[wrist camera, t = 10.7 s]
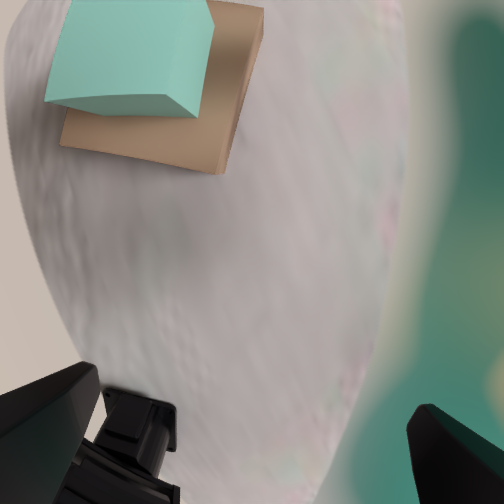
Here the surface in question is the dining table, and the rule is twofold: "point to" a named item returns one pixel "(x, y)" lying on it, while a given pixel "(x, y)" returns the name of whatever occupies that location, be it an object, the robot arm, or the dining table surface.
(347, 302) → the dining table surface
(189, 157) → the walnut block
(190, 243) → the dining table surface
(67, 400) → the robot arm
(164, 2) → the teal cube
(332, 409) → the dining table surface
